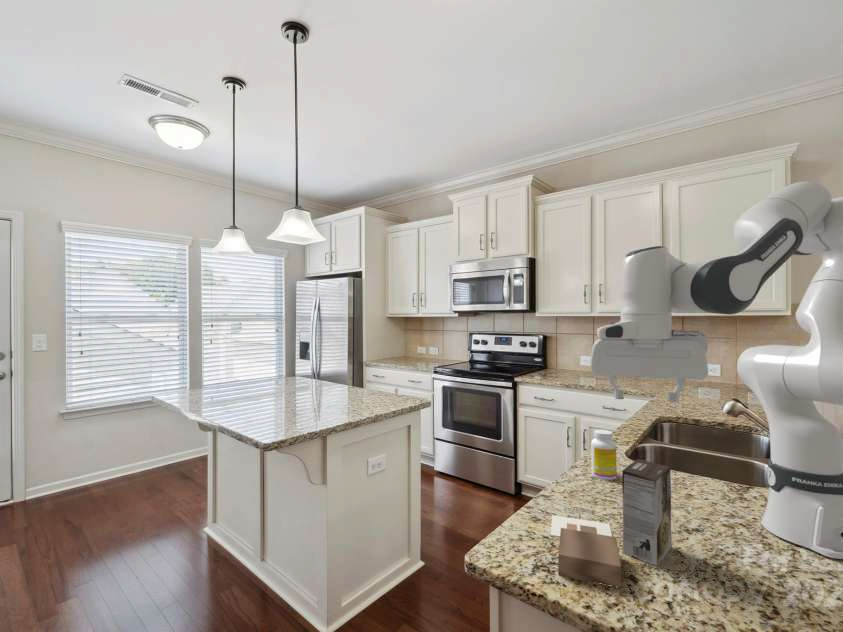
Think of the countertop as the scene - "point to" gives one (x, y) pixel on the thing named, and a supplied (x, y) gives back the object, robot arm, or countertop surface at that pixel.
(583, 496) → the countertop surface
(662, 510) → the coffee box
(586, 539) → the base block
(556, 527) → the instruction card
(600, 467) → the supplement bottle
